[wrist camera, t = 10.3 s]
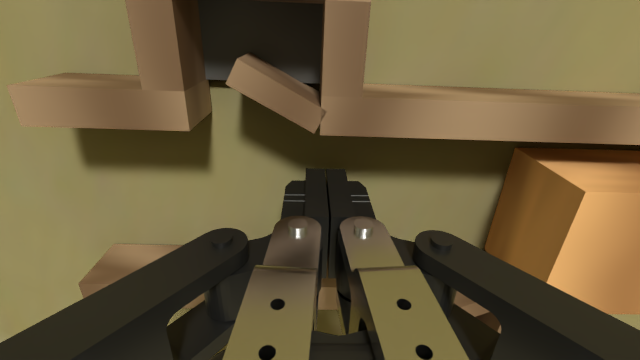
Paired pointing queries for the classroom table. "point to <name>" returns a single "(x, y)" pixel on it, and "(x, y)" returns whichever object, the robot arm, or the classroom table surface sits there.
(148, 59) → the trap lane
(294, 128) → the classroom table surface
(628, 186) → the block
